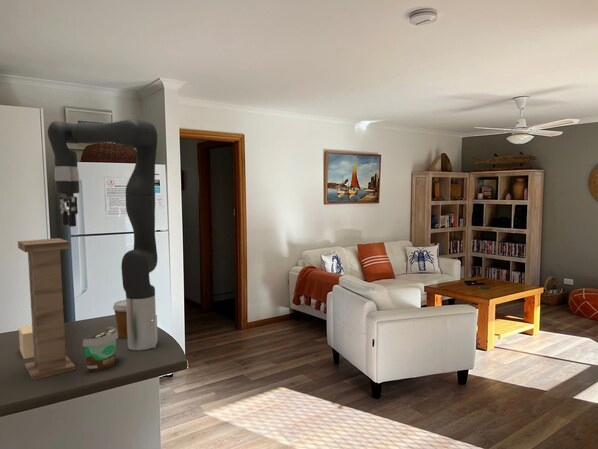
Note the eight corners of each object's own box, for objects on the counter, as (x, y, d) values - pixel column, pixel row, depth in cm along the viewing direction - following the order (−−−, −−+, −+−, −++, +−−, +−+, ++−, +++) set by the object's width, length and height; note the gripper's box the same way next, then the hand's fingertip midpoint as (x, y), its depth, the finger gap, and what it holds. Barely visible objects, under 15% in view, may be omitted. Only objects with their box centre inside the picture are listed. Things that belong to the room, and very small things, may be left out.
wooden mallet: (56, 352, 144) (54, 328, 144) (23, 359, 139) (22, 333, 138) (44, 334, 161) (42, 313, 161) (15, 340, 156) (13, 317, 155)
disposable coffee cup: (116, 341, 154) (114, 307, 153) (112, 333, 163) (111, 301, 162) (144, 336, 159) (143, 303, 158) (139, 329, 167) (138, 298, 166)
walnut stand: (75, 369, 130) (69, 241, 127) (33, 380, 123) (25, 245, 120) (65, 357, 140) (59, 238, 136) (25, 367, 132) (17, 241, 129)
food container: (102, 374, 127) (101, 340, 126) (83, 373, 128) (82, 339, 127) (127, 358, 139) (126, 327, 138) (110, 356, 140) (108, 326, 139)
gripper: (50, 180, 159) (52, 225, 160) (60, 179, 148) (62, 227, 149) (73, 180, 163) (75, 223, 165) (84, 179, 153) (86, 226, 154)
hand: (69, 225), depth 157 cm, fingers open, 8 cm apart
